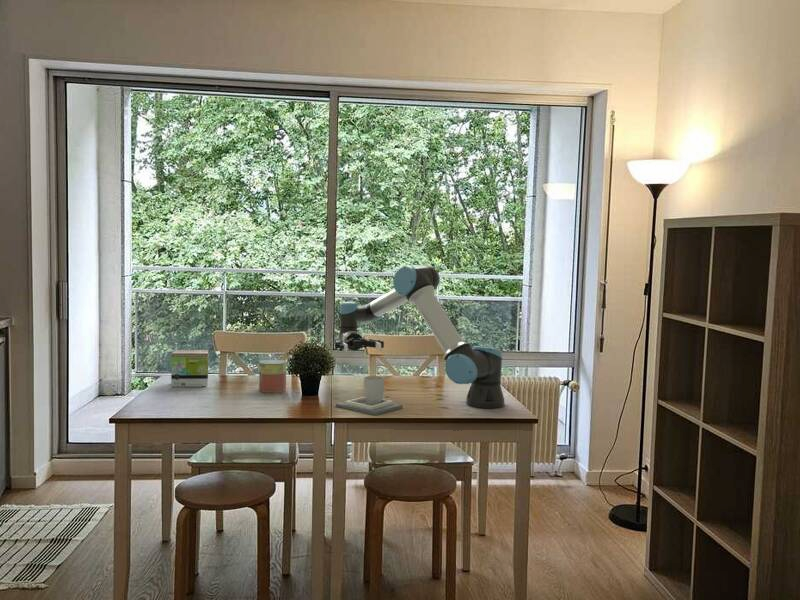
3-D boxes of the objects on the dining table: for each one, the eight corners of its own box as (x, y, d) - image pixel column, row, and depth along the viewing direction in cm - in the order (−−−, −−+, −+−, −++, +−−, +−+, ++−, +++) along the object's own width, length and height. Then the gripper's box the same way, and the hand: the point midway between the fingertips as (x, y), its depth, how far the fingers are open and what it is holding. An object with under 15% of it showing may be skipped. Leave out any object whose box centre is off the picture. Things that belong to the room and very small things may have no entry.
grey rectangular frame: (402, 407, 286) (402, 401, 286) (375, 415, 273) (375, 408, 273) (363, 399, 298) (363, 393, 298) (335, 406, 285) (335, 400, 285)
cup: (385, 401, 290) (386, 376, 289) (382, 406, 282) (383, 380, 281) (365, 400, 291) (365, 375, 290) (361, 405, 283) (362, 379, 282)
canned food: (258, 387, 317) (258, 359, 316) (285, 386, 320) (285, 359, 319) (259, 392, 306) (259, 364, 305) (286, 392, 309) (287, 363, 308)
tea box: (171, 387, 312) (170, 353, 310) (172, 383, 322) (172, 349, 320) (207, 387, 315) (208, 352, 314) (208, 382, 325) (208, 348, 324)
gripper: (381, 348, 317) (394, 356, 297) (323, 350, 311) (332, 358, 291) (381, 331, 317) (394, 337, 296) (323, 332, 310) (332, 339, 290)
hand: (363, 347), depth 293 cm, fingers open, 13 cm apart
